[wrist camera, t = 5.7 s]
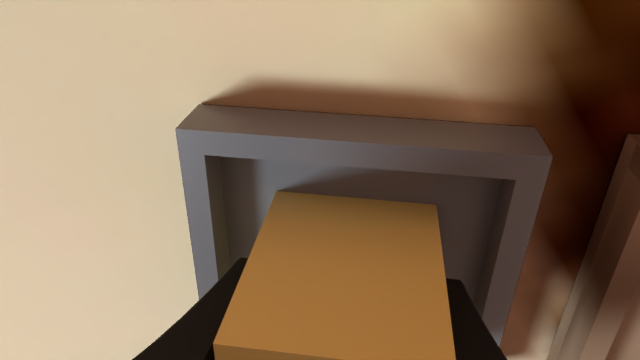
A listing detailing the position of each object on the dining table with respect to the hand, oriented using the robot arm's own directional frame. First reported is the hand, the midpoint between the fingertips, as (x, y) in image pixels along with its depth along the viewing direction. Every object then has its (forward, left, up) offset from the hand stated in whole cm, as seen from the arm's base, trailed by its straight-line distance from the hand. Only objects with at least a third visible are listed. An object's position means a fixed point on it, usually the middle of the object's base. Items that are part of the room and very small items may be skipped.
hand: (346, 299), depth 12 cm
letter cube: (0, 0, -2) cm, 2 cm away
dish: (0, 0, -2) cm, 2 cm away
